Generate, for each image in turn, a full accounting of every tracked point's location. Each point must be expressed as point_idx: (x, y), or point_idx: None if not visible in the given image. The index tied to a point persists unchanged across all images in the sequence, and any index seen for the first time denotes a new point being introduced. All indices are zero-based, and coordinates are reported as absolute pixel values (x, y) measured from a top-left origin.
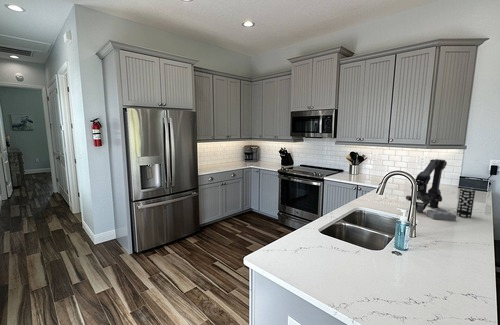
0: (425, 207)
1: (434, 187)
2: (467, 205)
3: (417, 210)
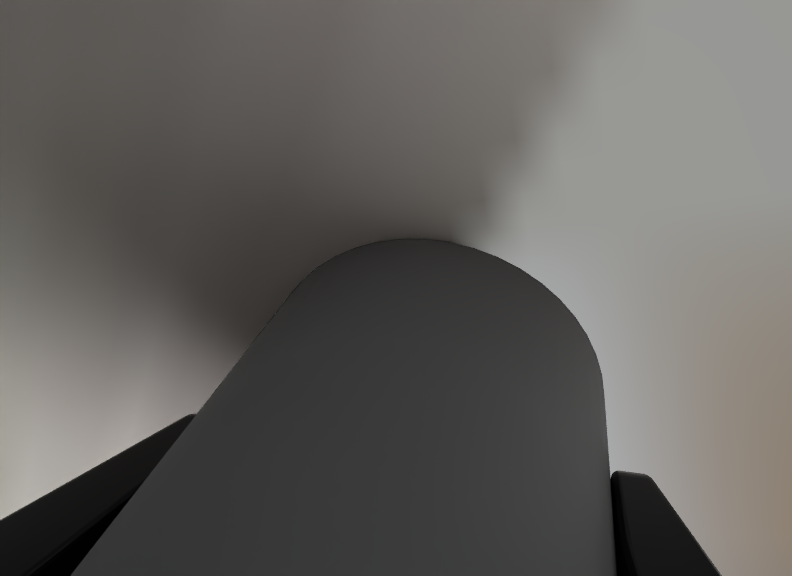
0: (15, 520)
1: None
2: None
3: (578, 377)
